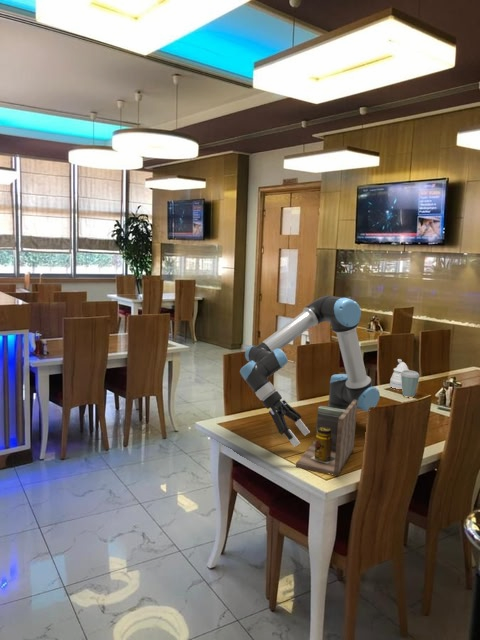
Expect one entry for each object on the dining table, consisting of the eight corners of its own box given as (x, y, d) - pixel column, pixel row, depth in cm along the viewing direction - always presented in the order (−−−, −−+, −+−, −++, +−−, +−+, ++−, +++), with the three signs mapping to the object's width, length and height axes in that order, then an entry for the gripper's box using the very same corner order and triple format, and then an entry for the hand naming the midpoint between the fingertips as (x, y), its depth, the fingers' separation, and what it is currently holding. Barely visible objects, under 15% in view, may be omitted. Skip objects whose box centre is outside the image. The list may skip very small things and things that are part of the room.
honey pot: (391, 389, 306) (393, 361, 303) (388, 384, 318) (391, 357, 316) (412, 391, 304) (415, 363, 301) (409, 386, 316) (412, 358, 314)
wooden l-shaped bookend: (315, 442, 212) (319, 393, 209) (353, 450, 206) (357, 400, 203) (295, 466, 187) (299, 411, 184) (337, 476, 180) (342, 419, 177)
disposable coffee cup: (420, 399, 286) (422, 374, 284) (401, 398, 286) (404, 373, 284) (414, 394, 297) (416, 370, 295) (396, 393, 297) (398, 369, 295)
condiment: (310, 458, 191) (312, 428, 190) (321, 452, 198) (323, 423, 196) (326, 464, 187) (329, 433, 185) (337, 457, 193) (339, 428, 192)
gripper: (273, 393, 210) (304, 434, 206) (250, 409, 188) (285, 455, 184) (285, 383, 208) (318, 424, 204) (264, 398, 185) (300, 444, 181)
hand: (302, 439), depth 194 cm, fingers open, 13 cm apart
